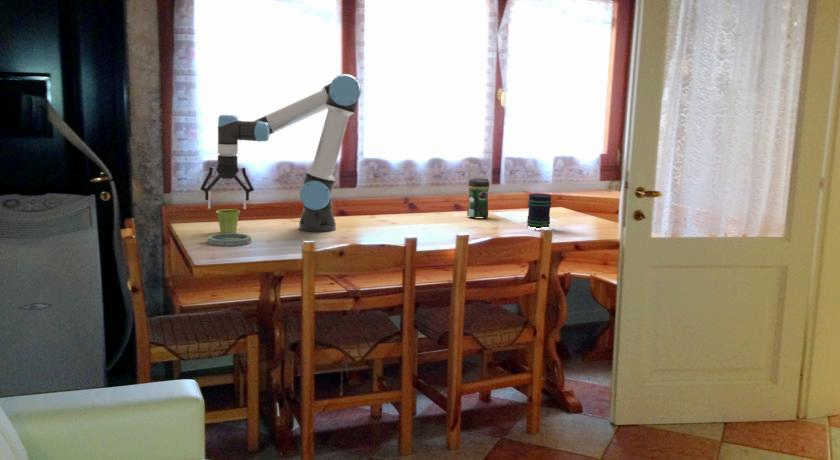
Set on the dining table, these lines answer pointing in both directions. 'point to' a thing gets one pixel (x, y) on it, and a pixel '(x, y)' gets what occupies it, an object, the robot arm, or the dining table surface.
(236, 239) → the saucer
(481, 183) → the coffee jar
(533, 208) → the storage jar
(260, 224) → the dining table surface
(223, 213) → the plant pot
